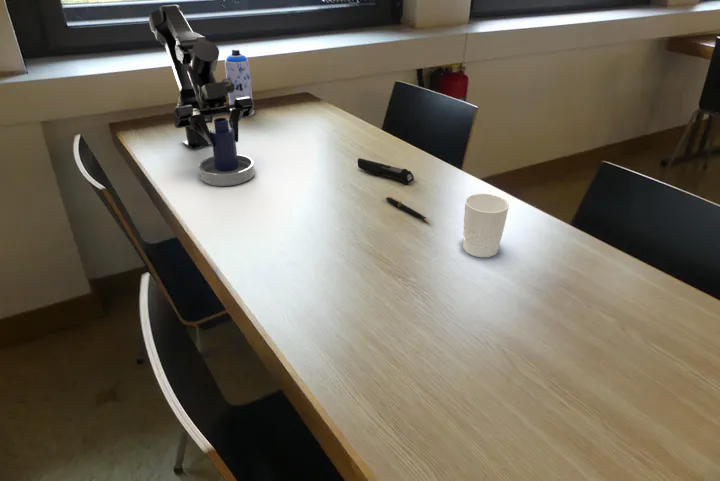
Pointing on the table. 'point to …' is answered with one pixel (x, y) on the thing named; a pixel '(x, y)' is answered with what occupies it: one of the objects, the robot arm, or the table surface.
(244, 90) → the aerosol can
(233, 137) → the dark blue vase
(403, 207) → the fountain pen
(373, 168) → the electric trimmer
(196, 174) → the table surface
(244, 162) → the steel dish
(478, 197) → the white cup
